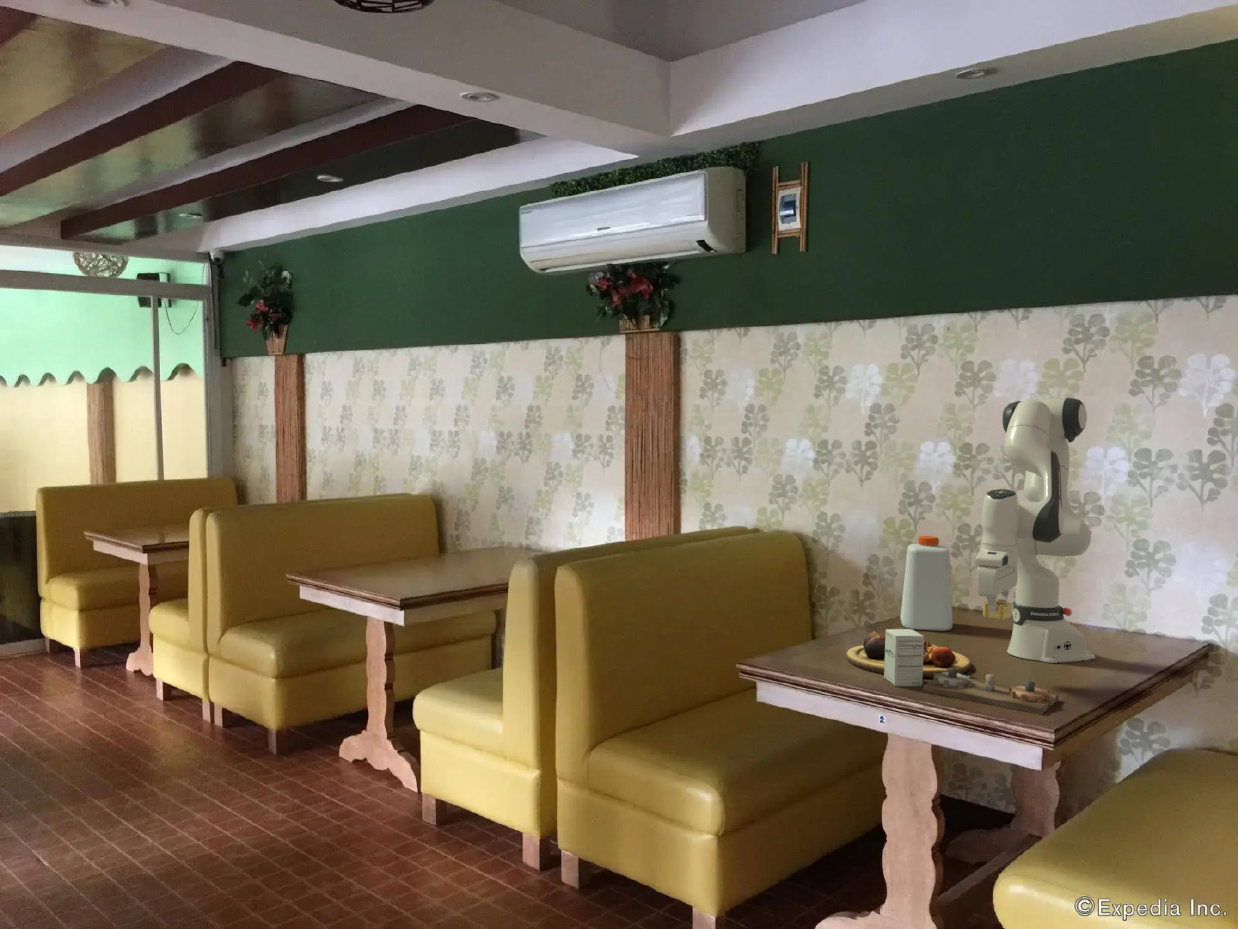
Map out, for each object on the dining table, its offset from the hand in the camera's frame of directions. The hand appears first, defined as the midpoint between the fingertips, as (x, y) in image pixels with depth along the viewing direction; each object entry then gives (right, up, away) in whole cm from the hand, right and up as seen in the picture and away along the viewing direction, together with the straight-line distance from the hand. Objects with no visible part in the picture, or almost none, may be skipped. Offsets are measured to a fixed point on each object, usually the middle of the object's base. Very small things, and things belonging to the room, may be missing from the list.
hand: (997, 609), depth 250 cm
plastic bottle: (+1, -14, +61) cm, 62 cm away
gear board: (-8, -18, -15) cm, 25 cm away
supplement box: (-25, -18, -4) cm, 31 cm away
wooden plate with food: (-18, -17, +15) cm, 29 cm away
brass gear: (0, -2, 0) cm, 2 cm away
